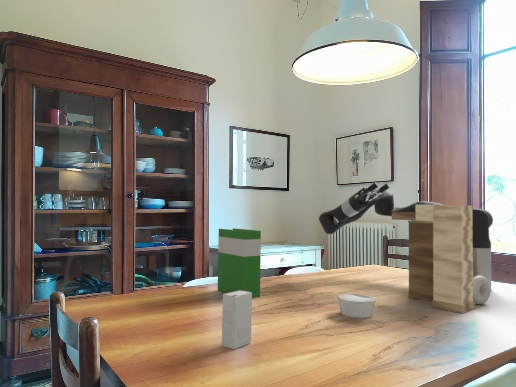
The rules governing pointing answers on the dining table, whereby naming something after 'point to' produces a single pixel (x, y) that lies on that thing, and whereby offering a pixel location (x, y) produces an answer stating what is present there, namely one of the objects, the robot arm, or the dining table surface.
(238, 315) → the skincare box
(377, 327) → the dining table surface
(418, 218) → the brown tan long block
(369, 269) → the dining table surface
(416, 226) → the cream-topped wooden box
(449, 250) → the wooden block
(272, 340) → the dining table surface
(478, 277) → the donut
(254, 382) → the dining table surface
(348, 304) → the ramekin
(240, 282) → the green cereal box
